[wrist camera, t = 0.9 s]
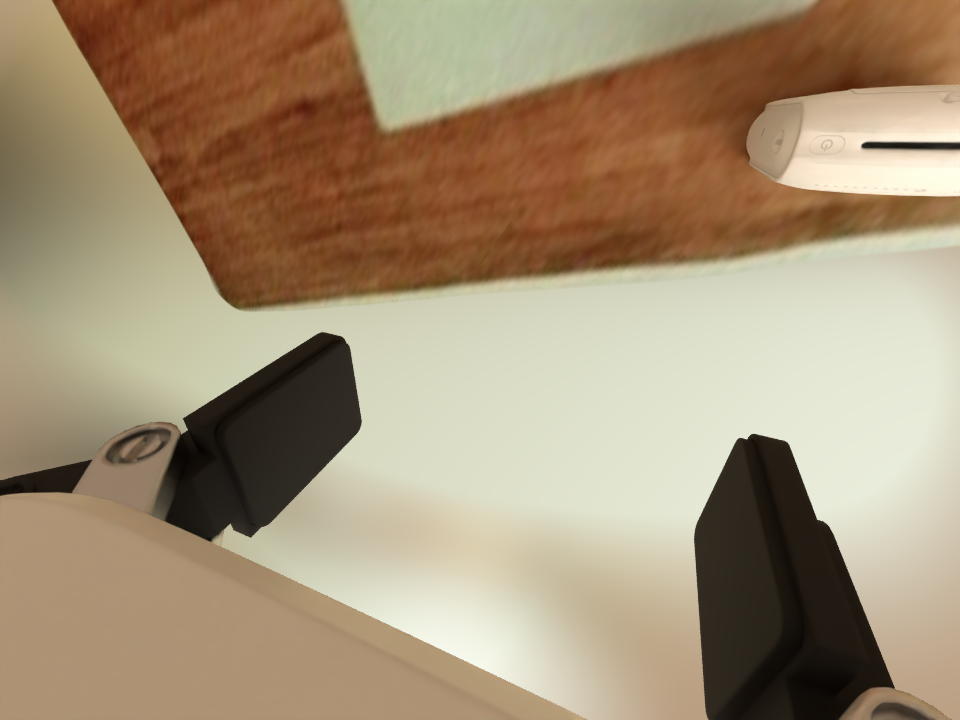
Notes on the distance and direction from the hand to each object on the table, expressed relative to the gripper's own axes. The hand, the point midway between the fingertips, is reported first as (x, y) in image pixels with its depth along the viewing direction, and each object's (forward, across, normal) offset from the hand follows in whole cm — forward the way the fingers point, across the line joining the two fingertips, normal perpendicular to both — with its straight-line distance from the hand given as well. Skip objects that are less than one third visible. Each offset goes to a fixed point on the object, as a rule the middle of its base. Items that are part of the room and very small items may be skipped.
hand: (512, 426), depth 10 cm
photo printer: (+29, -12, -6) cm, 32 cm away
